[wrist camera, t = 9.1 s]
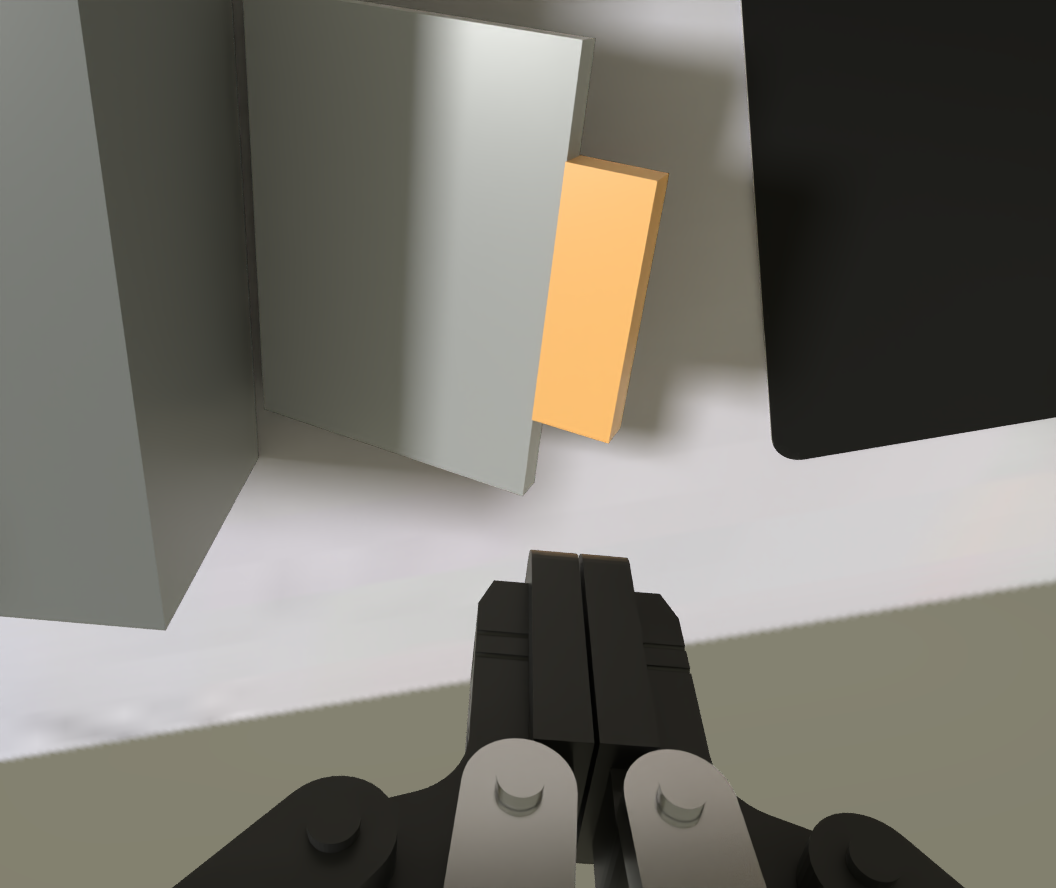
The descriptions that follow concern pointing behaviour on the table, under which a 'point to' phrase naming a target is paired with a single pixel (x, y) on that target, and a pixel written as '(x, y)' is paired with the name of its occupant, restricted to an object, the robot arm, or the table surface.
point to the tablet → (903, 216)
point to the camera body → (119, 305)
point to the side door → (439, 234)
